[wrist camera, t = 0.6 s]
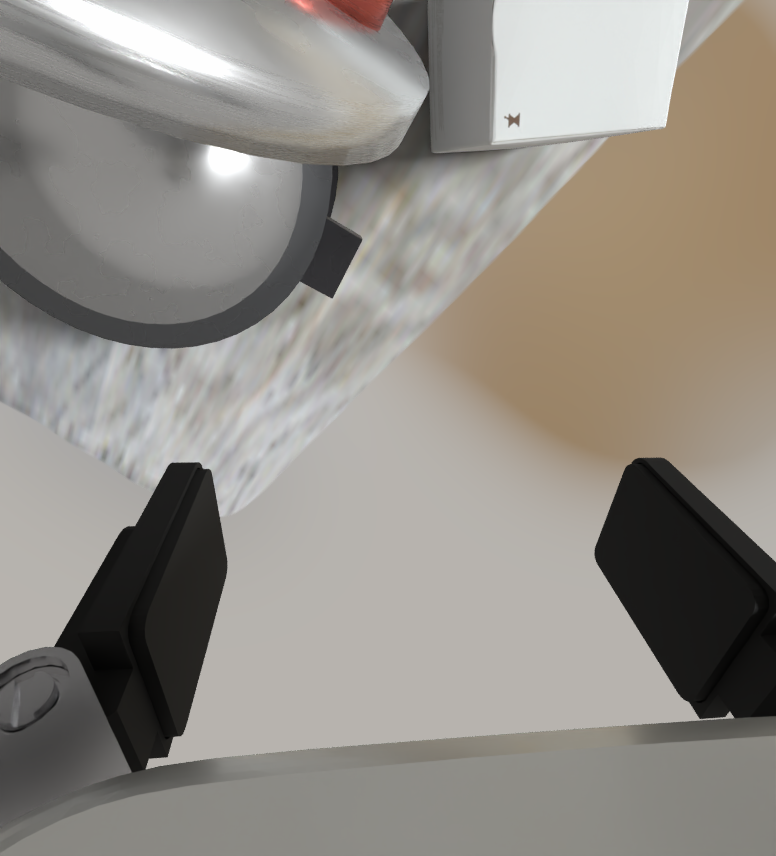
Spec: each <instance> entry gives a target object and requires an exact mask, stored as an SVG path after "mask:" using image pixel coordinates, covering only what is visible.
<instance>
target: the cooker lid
mask: <svg viewBox="0 0 776 856" xmlns="http://www.w3.org/2000/svg"><path fill="white" fill-rule="evenodd" d="M392 1H393V0H0V78H1V79H4V80H7V81H9V82H12V83H15V84H18V85H20V86H23V87H26V88H29V89H31V90H34V91H37V92H40V93H42V94H45V95H48V96H51V97H53V98H56V99H59V100H62V101H64V102H67V103H70V104H73V105H75V106H78V107H81V108H84V109H86V110H90V111H93V112H96V113H99V114H103V115H106V116H109V117H112V118H116V119H119V120H122V121H125V122H129V123H132V124H135V125H138V126H142V127H145V128H148V129H151V130H154V131H158V132H161V133H164V134H167V135H171V136H174V137H177V138H181V139H185V140H189V141H193V142H197V143H202V144H206V145H210V146H214V147H218V148H222V149H226V150H230V151H235V152H239V153H243V154H247V155H252V156H258V157H264V158H270V159H277V160H283V161H289V162H295V163H302V164H318V165H338V166H344V165H353V164H363V163H370V162H373V161H376V160H378V159H381V158H384V157H387V156H389V155H390V154H391V153H392V152H393V151H394V150H395V149H397V148H398V147H399V145H400V143H401V142H402V140H403V138H404V136H405V134H406V132H407V131H408V129H409V127H410V125H411V123H412V121H413V119H414V118H415V116H416V114H417V112H418V110H419V108H420V106H421V105H422V103H423V101H424V99H425V97H426V95H427V93H428V90H429V87H430V85H429V78H428V74H427V71H426V69H425V67H424V64H423V62H422V60H421V59H420V57H419V56H418V54H417V52H416V51H415V49H414V48H413V46H412V45H411V43H410V42H409V41H408V39H407V38H406V37H405V35H404V34H403V33H402V31H401V30H400V29H399V28H398V27H397V25H396V24H395V23H394V22H393V21H392V20H391V18H390V17H389V16H388V15H387V13H388V10H389V8H390V6H391V3H392Z"/></svg>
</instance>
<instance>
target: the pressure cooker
mask: <svg viewBox="0 0 776 856" xmlns="http://www.w3.org/2000/svg"><path fill="white" fill-rule="evenodd" d="M337 180H338V165H318V164H302V163H295V162H289V161H283V160H277V159H270V158H264V157H258V156H252V155H247V154H243V153H239V152H235V151H230V150H226V149H222V148H218V147H214V146H210V145H206V144H202V143H197V142H193V141H189V140H185V139H181V138H177V137H174V136H171V135H167V134H164V133H161V132H158V131H154V130H151V129H148V128H145V127H142V126H138V125H135V124H132V123H129V122H125V121H122V120H119V119H116V118H112V117H109V116H106V115H103V114H99V113H96V112H93V111H90V110H86V109H84V108H81V107H78V106H75V105H73V104H70V103H67V102H64V101H62V100H59V99H56V98H53V97H51V96H48V95H45V94H42V93H40V92H37V91H34V90H31V89H29V88H26V87H23V86H20V85H18V84H15V83H12V82H9V81H7V80H4V79H1V78H0V280H1V281H2V282H3V283H4V284H5V285H7V286H8V287H10V288H11V289H12V290H14V291H15V292H16V293H18V294H19V295H20V296H22V297H23V298H24V299H26V300H27V301H28V302H30V303H31V304H33V305H35V306H36V307H38V308H40V309H41V310H43V311H44V312H46V313H48V314H49V315H51V316H53V317H54V318H57V319H59V320H61V321H63V322H65V323H67V324H69V325H71V326H73V327H75V328H77V329H79V330H82V331H85V332H88V333H90V334H93V335H96V336H98V337H101V338H104V339H108V340H112V341H116V342H120V343H124V344H128V345H135V346H142V347H149V348H183V347H193V346H199V345H204V344H208V343H212V342H217V341H220V340H222V339H225V338H228V337H230V336H233V335H236V334H238V333H240V332H242V331H244V330H245V329H247V328H249V327H251V326H253V325H255V324H256V323H258V322H259V321H260V320H262V319H263V318H264V317H266V316H267V315H269V314H270V313H271V312H273V311H274V310H275V309H276V308H277V307H278V306H279V305H280V304H281V303H282V302H283V301H284V300H285V299H286V298H287V297H288V296H289V295H290V293H291V292H292V291H293V289H294V288H295V287H296V285H297V284H298V283H299V281H300V282H302V283H304V284H306V285H308V286H310V287H312V288H313V289H315V290H317V291H319V292H321V293H323V294H325V295H327V296H328V297H330V298H333V296H334V294H335V292H336V290H337V288H338V287H339V285H340V283H341V281H342V279H343V277H344V275H345V273H346V271H347V269H348V267H349V265H350V263H351V261H352V259H353V257H354V255H355V253H356V251H357V249H358V247H359V245H360V244H361V242H362V237H361V236H360V235H358V234H357V233H355V232H353V231H352V230H350V229H348V228H347V227H345V226H343V225H342V224H340V223H338V222H337V221H335V220H333V219H332V218H330V217H331V213H332V209H333V205H334V201H335V196H336V188H337Z"/></svg>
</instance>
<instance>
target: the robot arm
mask: <svg viewBox="0 0 776 856" xmlns="http://www.w3.org/2000/svg"><path fill="white" fill-rule="evenodd" d="M595 559H596V562H597V564H598V566H599V567H600V569H601V570H602V572H603V574H604V575H605V577H606V579H607V580H608V582H609V583H610V585H611V586H612V588H613V590H614V591H615V593H616V595H617V596H618V598H619V599H620V601H621V603H622V604H623V606H624V607H625V609H626V610H627V612H628V614H629V615H630V617H631V619H632V620H633V622H634V623H635V625H636V627H637V628H638V630H639V631H640V633H641V635H642V636H643V638H644V639H645V641H646V643H647V644H648V646H649V647H650V649H651V651H652V652H653V654H654V655H655V657H656V659H657V660H658V662H659V663H660V665H661V667H662V668H663V670H664V671H665V673H666V675H667V676H668V678H669V679H670V681H671V683H672V684H673V686H674V687H675V689H676V691H677V692H678V694H679V695H680V696H681V697H682V698H683V699H684V700H686V701H688V702H689V703H690V704H691V706H692V707H693V709H694V710H695V712H696V714H697V715H698V717H699V718H700V719H705V718H718V717H726V715H727V714H728V713H729V711H730V712H731V713H732V715H733V716H734V718H733V719H718V720H703V721H689V722H673V723H658V724H643V725H628V726H613V727H599V728H586V729H573V730H557V731H545V732H544V731H543V732H530V733H516V734H502V735H489V736H475V737H462V738H449V739H436V740H422V741H410V742H397V743H384V744H371V745H358V746H345V747H332V748H320V749H308V750H297V751H287V752H277V753H266V754H256V755H246V756H235V757H224V758H214V759H207V760H200V761H194V762H186V763H179V764H173V765H166V766H159V767H155V768H151V769H147V770H145V769H146V766H147V763H148V759H149V758H162V757H168V754H169V750H170V747H171V743H172V739H173V737H175V736H181V735H182V734H183V732H184V730H185V727H186V724H187V721H188V717H189V713H190V709H191V706H192V702H193V698H194V694H195V691H196V687H197V683H198V679H199V676H200V672H201V668H202V665H203V661H204V657H205V653H206V650H207V646H208V642H209V639H210V635H211V631H212V627H213V623H214V619H215V616H216V612H217V608H218V604H219V601H220V598H221V594H222V590H223V586H224V582H225V579H226V574H227V556H226V551H225V545H224V539H223V534H222V528H221V523H220V517H219V511H218V505H217V500H216V494H215V488H214V483H213V477H212V473H211V470H209V469H203V468H202V465H201V464H200V463H199V462H196V463H171V464H170V465H169V466H168V467H167V469H166V471H165V473H164V475H163V477H162V478H161V480H160V482H159V484H158V486H157V487H156V489H155V491H154V493H153V495H152V497H151V498H150V500H149V502H148V504H147V506H146V508H145V509H144V511H143V513H142V515H141V517H140V519H139V520H138V522H137V524H136V526H131V527H130V526H128V527H126V528H124V529H123V530H122V531H121V533H120V534H119V535H118V537H117V539H116V541H115V542H114V544H113V546H112V548H111V549H110V551H109V553H108V554H107V556H106V558H105V560H104V562H103V563H102V565H101V566H100V568H99V570H98V572H97V574H96V575H95V577H94V579H93V580H92V582H91V584H90V586H89V587H88V589H87V591H86V593H85V594H84V596H83V598H82V599H81V601H80V603H79V605H78V606H77V608H76V610H75V611H74V613H73V615H72V617H71V619H70V620H69V622H68V624H67V625H66V627H65V629H64V631H63V632H62V634H61V636H60V638H59V639H58V641H57V643H56V644H55V646H54V647H44V648H39V649H35V650H30V651H27V652H25V653H22V654H20V655H18V656H15V657H13V658H11V659H9V660H7V661H6V662H4V663H2V664H1V665H0V856H776V562H775V561H774V560H773V559H772V558H771V557H770V556H769V555H767V554H766V553H765V552H764V551H763V550H762V549H761V548H760V547H759V546H757V544H756V543H755V542H754V541H753V540H752V539H751V538H749V537H748V536H747V535H746V534H745V533H744V532H743V531H742V530H741V529H740V528H739V527H738V526H737V525H736V524H735V523H734V522H732V521H731V520H730V519H729V518H728V517H727V516H726V515H725V514H724V513H723V512H722V511H721V510H720V509H718V507H716V506H715V505H714V504H713V503H712V502H711V501H710V500H709V499H708V498H707V497H706V496H705V495H704V494H703V493H702V492H701V491H699V490H698V489H697V488H696V487H695V486H694V485H693V484H692V483H691V482H690V481H689V480H688V479H687V478H686V477H685V476H684V475H683V474H681V473H680V472H679V471H678V470H677V469H676V468H675V467H674V466H673V465H672V464H671V463H670V462H669V461H667V460H666V459H664V458H637V459H635V460H634V461H633V462H632V464H630V465H628V466H627V467H626V468H625V470H624V473H623V475H622V478H621V481H620V483H619V486H618V489H617V492H616V494H615V497H614V499H613V502H612V504H611V507H610V510H609V512H608V515H607V518H606V521H605V523H604V526H603V528H602V531H601V534H600V537H599V539H598V542H597V544H596V547H595Z"/></svg>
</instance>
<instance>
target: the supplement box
mask: <svg viewBox="0 0 776 856" xmlns="http://www.w3.org/2000/svg"><path fill="white" fill-rule="evenodd" d="M688 2H689V0H428V46H429V85H430V87H429V88H430V127H431V151H432V153H450V152H467V151H485V150H499V149H512V148H523V147H533V146H543V145H552V144H560V143H568V142H575V141H583V140H590V139H597V138H603V137H610V136H616V135H623V134H630V133H636V132H643V131H649V130H656V129H662V128H664V127H665V126H666V121H667V115H668V108H669V103H670V98H671V91H672V86H673V82H674V76H675V71H676V66H677V60H678V55H679V50H680V45H681V39H682V34H683V29H684V23H685V18H686V13H687V7H688Z"/></svg>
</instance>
